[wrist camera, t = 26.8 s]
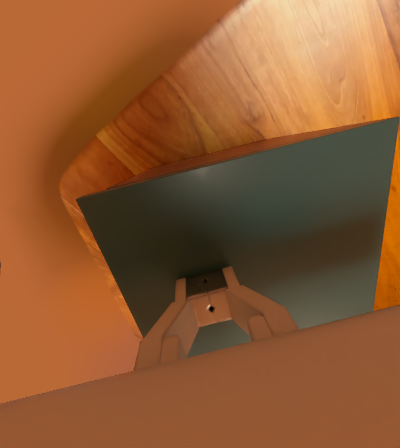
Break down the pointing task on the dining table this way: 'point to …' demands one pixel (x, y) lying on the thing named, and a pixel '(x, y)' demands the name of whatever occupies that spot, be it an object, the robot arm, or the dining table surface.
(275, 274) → the bin lid
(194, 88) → the dining table surface
